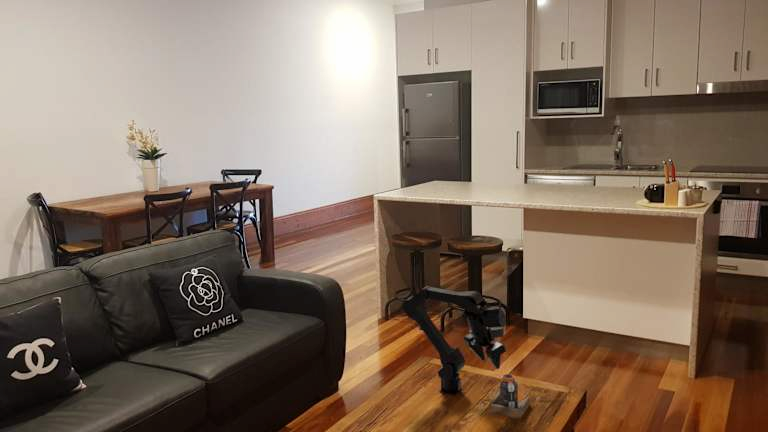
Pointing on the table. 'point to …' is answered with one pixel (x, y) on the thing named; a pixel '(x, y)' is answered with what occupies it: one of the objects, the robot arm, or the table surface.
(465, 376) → the table surface
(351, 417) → the table surface
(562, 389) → the table surface
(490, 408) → the box
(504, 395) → the pill bottle
